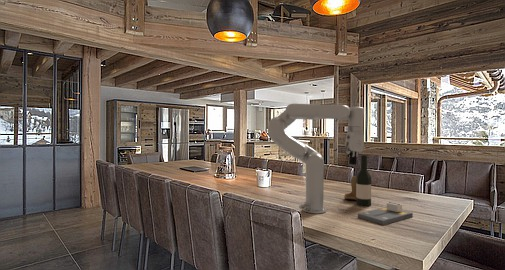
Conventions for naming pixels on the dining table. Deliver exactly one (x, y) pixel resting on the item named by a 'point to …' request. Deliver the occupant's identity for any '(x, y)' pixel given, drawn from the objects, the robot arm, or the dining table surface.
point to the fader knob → (394, 206)
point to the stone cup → (353, 194)
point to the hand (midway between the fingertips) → (352, 164)
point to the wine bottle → (363, 184)
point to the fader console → (384, 216)
